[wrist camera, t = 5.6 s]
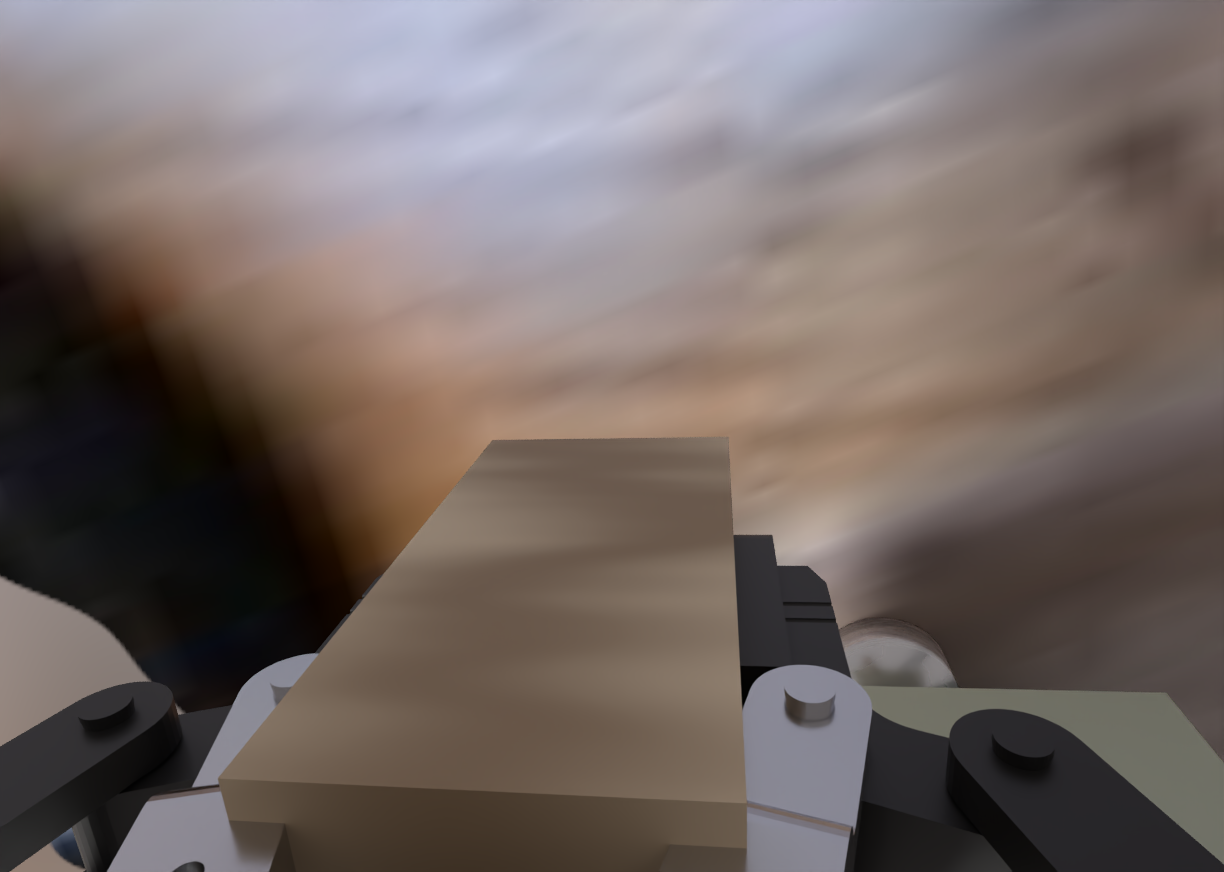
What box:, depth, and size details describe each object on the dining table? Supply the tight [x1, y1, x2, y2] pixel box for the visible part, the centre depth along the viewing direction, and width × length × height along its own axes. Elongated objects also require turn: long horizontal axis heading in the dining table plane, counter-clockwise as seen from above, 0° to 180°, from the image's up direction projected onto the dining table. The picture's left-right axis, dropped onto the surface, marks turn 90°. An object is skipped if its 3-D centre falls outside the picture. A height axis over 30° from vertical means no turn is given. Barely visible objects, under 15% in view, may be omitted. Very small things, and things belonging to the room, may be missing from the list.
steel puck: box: [839, 618, 958, 688], centre depth 30 cm, size 5×5×2 cm
